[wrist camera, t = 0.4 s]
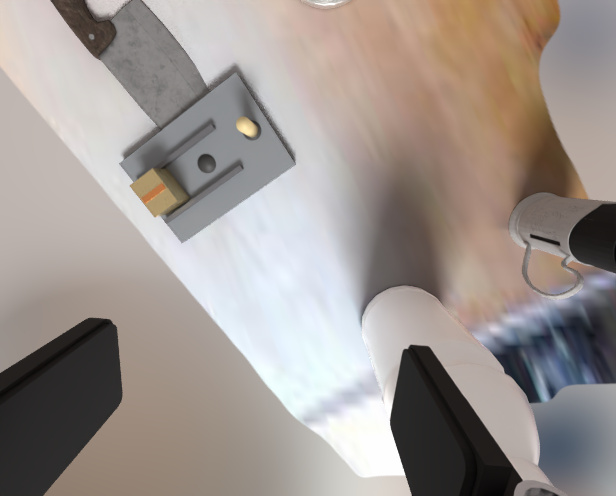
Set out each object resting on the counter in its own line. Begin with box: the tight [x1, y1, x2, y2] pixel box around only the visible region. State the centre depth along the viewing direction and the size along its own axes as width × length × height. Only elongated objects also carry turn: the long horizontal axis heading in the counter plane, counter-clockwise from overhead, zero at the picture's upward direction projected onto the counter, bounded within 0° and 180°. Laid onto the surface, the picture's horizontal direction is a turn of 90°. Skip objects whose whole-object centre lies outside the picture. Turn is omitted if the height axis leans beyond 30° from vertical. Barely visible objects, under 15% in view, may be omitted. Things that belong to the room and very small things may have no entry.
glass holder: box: [509, 192, 616, 300], centre depth 37 cm, size 9×14×15 cm, turn 137°
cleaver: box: [51, 0, 210, 130], centre depth 37 cm, size 29×10×2 cm, turn 40°
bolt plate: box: [119, 72, 296, 243], centre depth 39 cm, size 14×21×6 cm, turn 124°
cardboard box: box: [130, 168, 190, 217], centre depth 39 cm, size 5×4×4 cm
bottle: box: [362, 285, 553, 487], centre depth 34 cm, size 14×14×28 cm
